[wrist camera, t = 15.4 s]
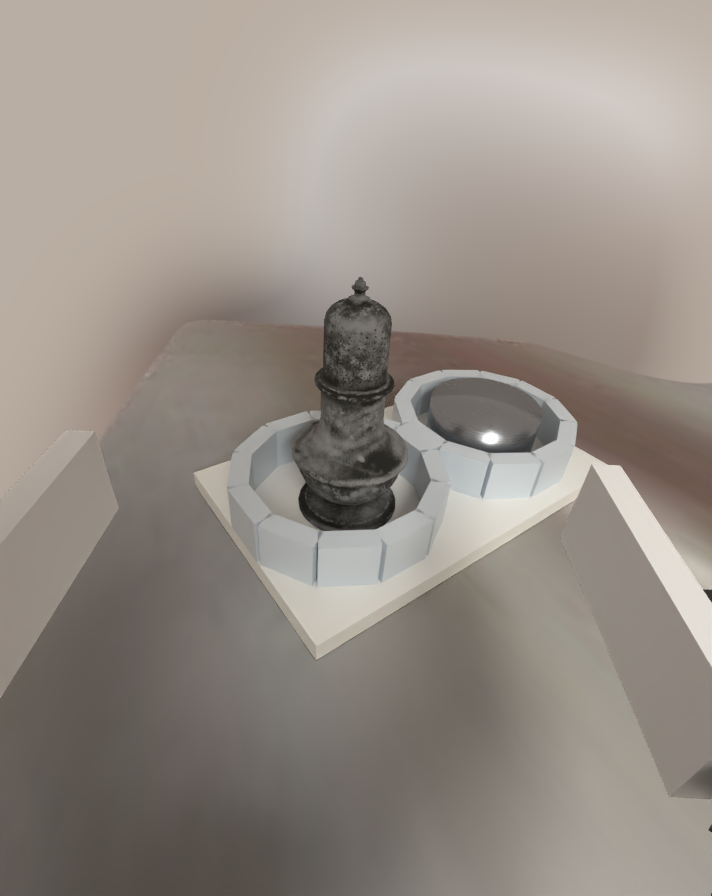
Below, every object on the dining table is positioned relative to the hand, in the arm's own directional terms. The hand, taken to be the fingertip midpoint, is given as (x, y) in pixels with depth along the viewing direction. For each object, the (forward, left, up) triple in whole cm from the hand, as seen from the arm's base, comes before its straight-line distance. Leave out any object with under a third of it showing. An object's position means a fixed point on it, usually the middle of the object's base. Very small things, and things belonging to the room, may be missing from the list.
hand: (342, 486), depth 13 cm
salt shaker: (-6, -8, -9) cm, 13 cm away
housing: (-11, -8, -10) cm, 17 cm away
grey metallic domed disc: (-16, -8, -9) cm, 20 cm away
